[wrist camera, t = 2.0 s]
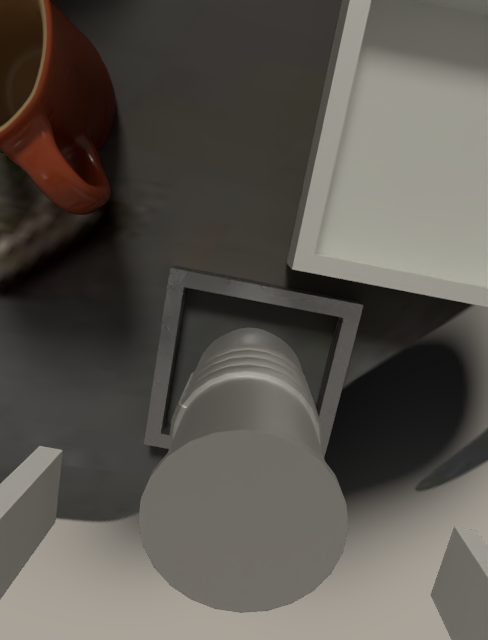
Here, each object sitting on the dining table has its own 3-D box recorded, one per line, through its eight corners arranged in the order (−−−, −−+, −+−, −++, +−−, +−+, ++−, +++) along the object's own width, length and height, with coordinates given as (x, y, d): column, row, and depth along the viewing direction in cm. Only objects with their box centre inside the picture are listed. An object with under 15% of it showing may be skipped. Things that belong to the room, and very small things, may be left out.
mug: (-41, 83, 25) (-246, -18, 15) (73, -12, 23) (-65, -194, 13) (82, 253, 27) (-22, 268, 17) (194, 174, 25) (153, 138, 15)
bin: (286, 263, 26) (291, 269, 22) (347, -23, 23) (365, -75, 19) (500, 304, 26) (543, 317, 23) (592, 27, 23) (662, -15, 19)
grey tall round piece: (212, 307, 27) (161, 401, 12) (313, 336, 27) (381, 461, 13) (186, 401, 29) (114, 583, 14) (283, 428, 29) (311, 635, 14)
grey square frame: (149, 433, 29) (143, 444, 28) (174, 265, 26) (170, 267, 25) (315, 464, 29) (319, 477, 28) (357, 300, 27) (363, 305, 25)
